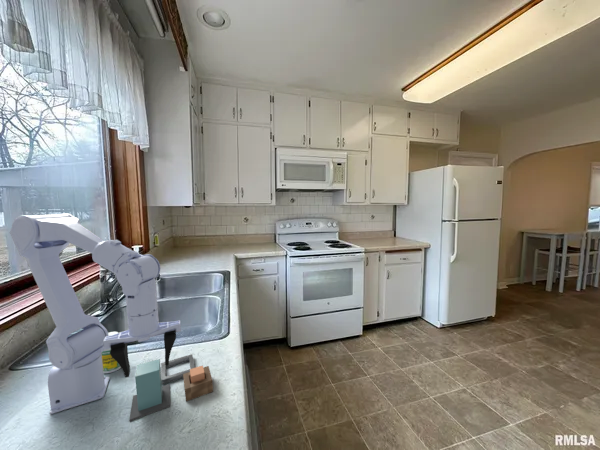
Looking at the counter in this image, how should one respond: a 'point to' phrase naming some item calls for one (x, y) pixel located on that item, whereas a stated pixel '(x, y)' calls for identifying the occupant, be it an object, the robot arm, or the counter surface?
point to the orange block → (197, 374)
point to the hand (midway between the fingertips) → (147, 368)
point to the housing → (198, 385)
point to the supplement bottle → (109, 359)
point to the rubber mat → (165, 404)
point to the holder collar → (178, 375)
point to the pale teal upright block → (148, 384)
